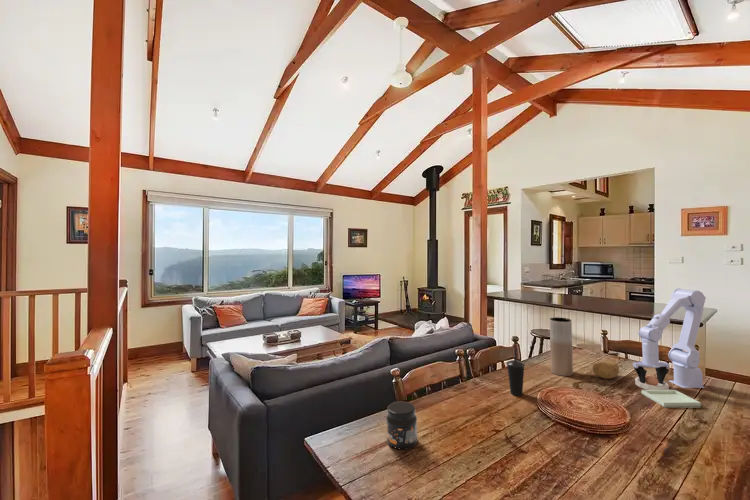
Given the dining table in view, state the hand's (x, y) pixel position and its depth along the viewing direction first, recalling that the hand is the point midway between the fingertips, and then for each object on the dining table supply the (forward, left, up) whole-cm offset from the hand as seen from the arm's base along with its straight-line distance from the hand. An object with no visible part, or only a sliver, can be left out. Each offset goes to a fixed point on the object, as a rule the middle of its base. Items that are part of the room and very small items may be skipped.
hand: (651, 383), depth 151 cm
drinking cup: (+63, +7, -2) cm, 63 cm away
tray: (+3, +14, -2) cm, 14 cm away
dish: (0, 0, -2) cm, 2 cm away
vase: (+31, -18, -2) cm, 36 cm away
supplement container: (+115, +45, -2) cm, 124 cm away
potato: (+13, -11, -2) cm, 17 cm away
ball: (0, 0, -1) cm, 1 cm away
